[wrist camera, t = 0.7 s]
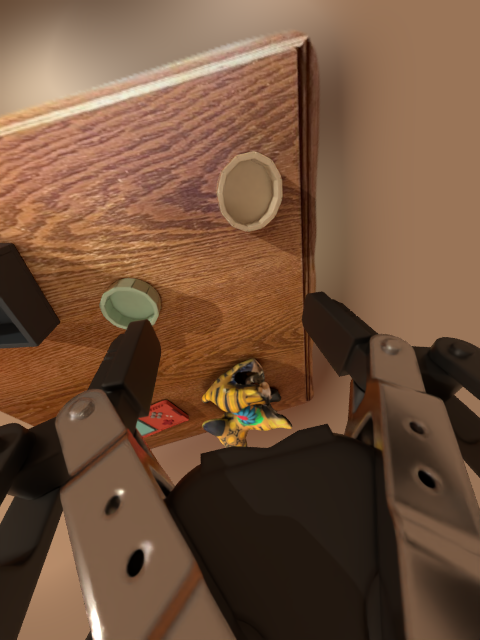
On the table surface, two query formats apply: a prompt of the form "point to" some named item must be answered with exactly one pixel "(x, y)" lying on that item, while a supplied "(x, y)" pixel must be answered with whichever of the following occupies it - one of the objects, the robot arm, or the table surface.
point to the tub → (21, 303)
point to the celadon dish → (130, 302)
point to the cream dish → (249, 191)
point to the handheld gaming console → (160, 418)
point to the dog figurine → (243, 404)
